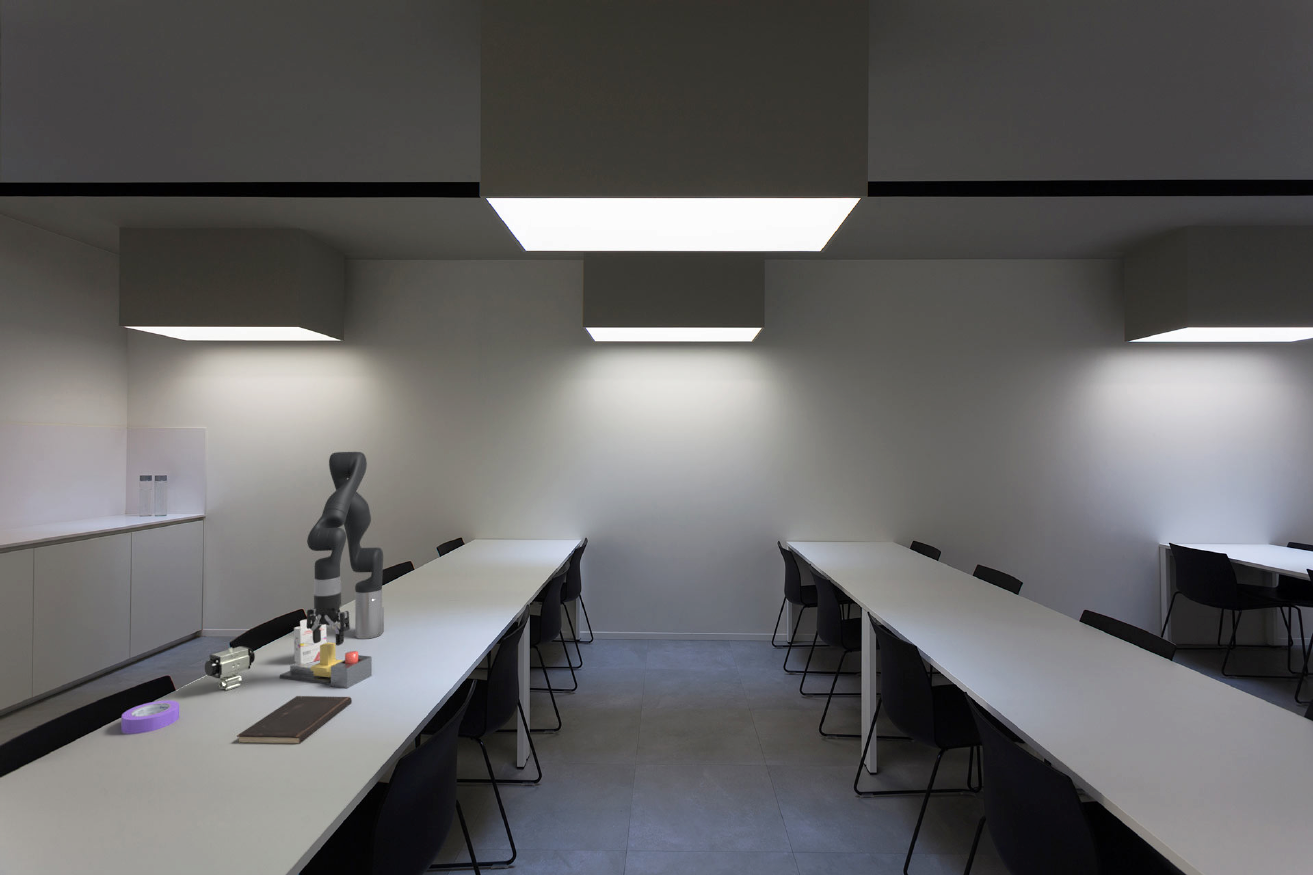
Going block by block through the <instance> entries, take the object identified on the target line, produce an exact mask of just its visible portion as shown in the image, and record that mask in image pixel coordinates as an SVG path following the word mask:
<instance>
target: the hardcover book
mask: <svg viewBox="0 0 1313 875" xmlns="http://www.w3.org/2000/svg"><path fill="white" fill-rule="evenodd" d="M352 703H353V700H352V697H351V696H319V695H317V696H315V695H313V696H312V695H311V696H310V695H296V696H295V697H293V698H292V699H290V700H289V701H287V702H285V704H282V705H281V706H280V707H278V708H277V709H275V710H273V711H272V712H270V713H269V714H267V715H266V716H264V717H263V718H261V719H260V720H258V721H257V722H255V723H254V724H252V725H251V726H249V727H248V728H246V729H245V730H242V731H241V732H240V733H239V734H237V735H236V737H237V738H238V743H259V744H260V743H264V744H267V743H269V744H270V743H271V744H272V743H273V744H300V745H301V743H303V742H304V741H305V740H307V739H308V738H309V737H311V736H312V735H314V733H315V732H317V731H318V730H319V729H321V728H322V727H324V726H325V725H326V724H328V722H329V721H331V720H332V719H333V718H335V717H336V716H337V715H338V714H340V713H341V712H342V711H343V710H345V709H346V708H348V707H350V705H351V704H352Z"/></svg>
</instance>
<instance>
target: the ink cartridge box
mask: <svg viewBox="0 0 1313 875" xmlns="http://www.w3.org/2000/svg"><path fill="white" fill-rule="evenodd" d="M316 619H317V616H316ZM299 625H300V626H296V627H293V642H294V644H293V645H294V649H293V650H294V655H293V656H294V664H295V663H302V664H311V663H313V662H317V661H320V645H322V644H325V643H327V625H326V624H325V625H322V626H321V628H320V630H321V641H320V642H318V643H314V642H313V631H312V630H311V629H310V628H309V629H307V618H306V619H302V620H300V621H299Z"/></svg>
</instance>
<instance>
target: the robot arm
mask: <svg viewBox="0 0 1313 875" xmlns="http://www.w3.org/2000/svg"><path fill="white" fill-rule="evenodd" d="M367 466H368V462H367V458H366V455H365V454H364V453H363V452H362V451H338V452H337V451H336V452H333V453H331V454H330V456H329V459H328V467H329V468H328V469H329V472H330V476H331V479H332V482H333V485H334V488H335V491H334V492H333V493H332V494H331V495H330V496H329V497H328V498H327V500H326V502H325V504H324V508H323V510H322V514H321V516H320V518H319V519H318V520H317V522H316V523H315V525H313V527H312V528H311V530H310V531H309V533H308V534H307V539H306V542H307V547H308V548H309V549H310V550H311V551H314V552H325V551H331V553H330V556H329V555H328V556H327V557H326V556H325V557H321V558H318V559H316V560H315V561H314V582H313V608H310V609H307V612H306V619H307V629H309V628H310V629H311V630H312V631H313V642H314V643H318V642H320V641H321V630H320V628H321V626H322V625H325V624H326V626H330V628H331V629H333V631H334V632H335V646H338V647H339V646H341V645H343V643H345V642H344V641H345V632H346V631H349V630H350V628H351V626H350V613H349V610H345V611H341V610H340V608H341V605H342V581H341V562H342V561H341V560H342V556H343V553H344V552H343V551H344V549H345V545H346V542H347V547H348V548H347V549H348V556H349V563H350V568H351V570H352V571H353V573H354V572H355V573H358V574H359V573H361V574H362V573H371V574H370V575H371V576H369V577H368V578H366V579H363V580H361V581H357V583H356V584H355V586H354V591H355V595H354V598H355V602H354V603H355V604H354V605H355V610H354V611H355V619H354V621H355V625H354V626H355V628H354V629H355V630H354V633H355V636H354V637H355V638H356V639H360V640H361V639H363V640H364V639H365V640H366V639H372V638H373V639H374V638H377V637H379V636H381V635H383V634H384V632H385V608H384V607H383V569H384V552H383V549H382V548H381V547H362V546H361V540H362V538H363V536H364V535H365V534H366V532H367V530H368V528H369V527H370V525H371V522H372V516H371V510H370V506H369V503H368V502H367V501H366V500H367V499H365V498H364V496H363V495H361V494H360V493H359V492H357V490H358V489H359V487H360V485H361V482H362V480H363V478H364V477H365V474H366V471H367ZM342 526H343V528H344V529H343V528H342ZM316 617H317V619H316Z"/></svg>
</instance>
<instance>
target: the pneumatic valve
mask: <svg viewBox="0 0 1313 875" xmlns="http://www.w3.org/2000/svg"><path fill="white" fill-rule="evenodd" d="M255 658H256V656H255V651H254V650H253V648H250V647H247V646H242V645H241V646H237V647H234V648H233V647H228V648H227V649H226V650H223V651H220V652H216V653H212V654H209V658H208V660H206V661H205V663H204V671H205V674H206V675H207V676H209V677H210V678H211V677H212V678H215V679H220V681H219V683H218V687H219V689H221V690H225V691H230V690H234V689H237V688H239V687H240V686H241V683H242V682H243V680H242V679H243V678H242V676H241V675H240V674H239V673H241V672H244V671H246V670H250V669H251V666H252V663H254V662H255V660H256V659H255Z"/></svg>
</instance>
